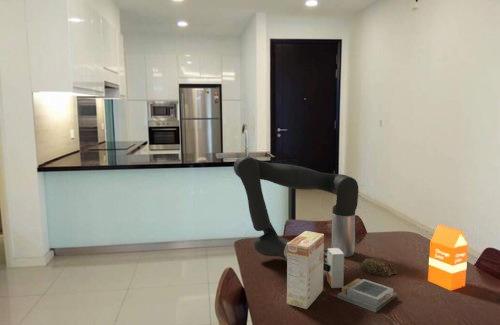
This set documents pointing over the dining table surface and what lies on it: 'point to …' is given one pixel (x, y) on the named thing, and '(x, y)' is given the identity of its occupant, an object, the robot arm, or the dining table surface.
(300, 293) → the coffeecake box
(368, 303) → the jig
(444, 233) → the orange juice
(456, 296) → the dining table surface
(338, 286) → the skincare box
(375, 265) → the bread roll
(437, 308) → the dining table surface
